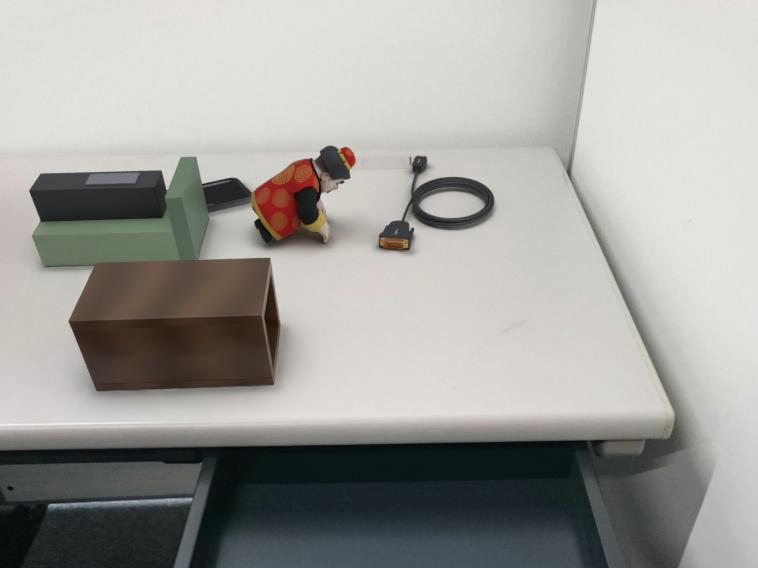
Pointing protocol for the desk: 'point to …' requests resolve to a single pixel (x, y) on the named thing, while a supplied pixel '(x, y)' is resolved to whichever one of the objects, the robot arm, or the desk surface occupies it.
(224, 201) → the phone
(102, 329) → the shelf
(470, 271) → the desk surface
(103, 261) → the green l-shaped block
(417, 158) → the cable
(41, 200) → the black rectangular box
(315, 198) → the figurine
